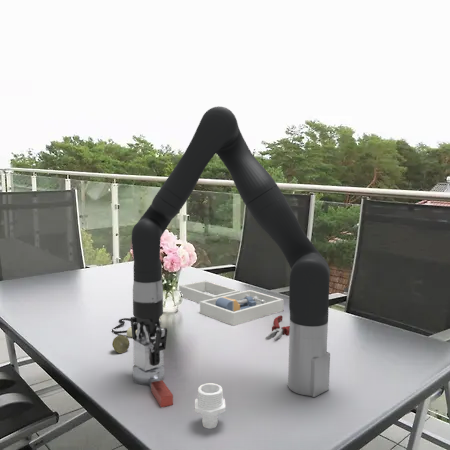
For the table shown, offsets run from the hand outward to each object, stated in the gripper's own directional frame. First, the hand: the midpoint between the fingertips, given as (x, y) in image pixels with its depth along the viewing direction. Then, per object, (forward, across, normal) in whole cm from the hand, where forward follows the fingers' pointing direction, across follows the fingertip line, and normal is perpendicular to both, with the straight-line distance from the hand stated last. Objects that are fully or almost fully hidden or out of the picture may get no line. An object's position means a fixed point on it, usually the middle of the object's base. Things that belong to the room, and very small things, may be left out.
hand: (148, 360), depth 117 cm
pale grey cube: (+1, 0, 0) cm, 1 cm away
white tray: (+5, -24, +57) cm, 62 cm away
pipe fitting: (+5, +27, -2) cm, 28 cm away
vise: (+5, -24, +55) cm, 60 cm away
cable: (+5, -35, +16) cm, 39 cm away
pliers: (+5, -2, +53) cm, 54 cm away
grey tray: (+5, -46, +59) cm, 75 cm away
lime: (+5, -20, +3) cm, 21 cm away
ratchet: (+5, +6, -2) cm, 7 cm away
